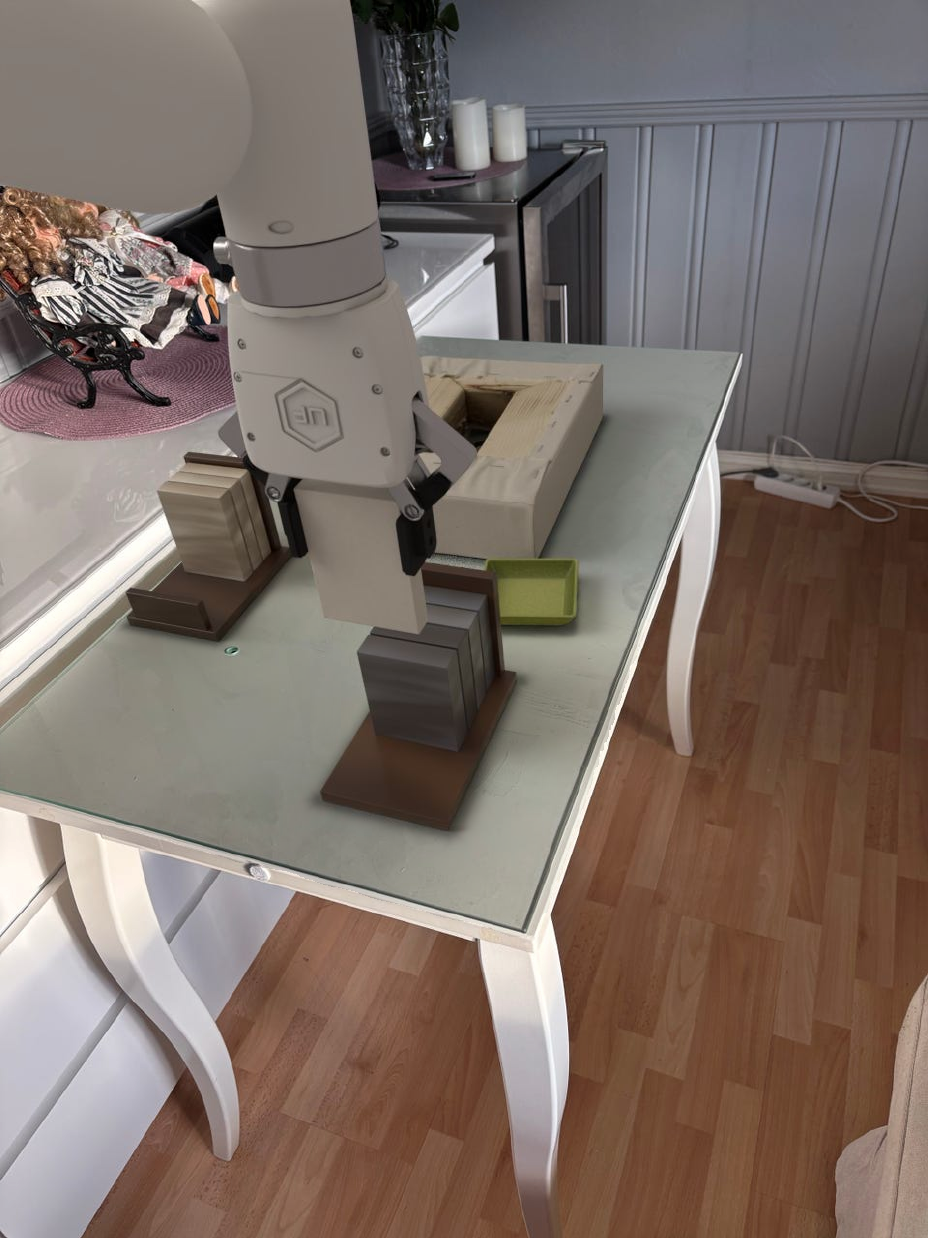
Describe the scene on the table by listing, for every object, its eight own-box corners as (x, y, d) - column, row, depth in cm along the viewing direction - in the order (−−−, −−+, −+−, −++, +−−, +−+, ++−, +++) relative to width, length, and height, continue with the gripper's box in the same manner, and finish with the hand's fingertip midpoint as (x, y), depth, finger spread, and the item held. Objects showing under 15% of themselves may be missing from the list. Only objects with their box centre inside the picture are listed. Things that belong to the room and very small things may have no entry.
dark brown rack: (218, 641, 83) (184, 541, 76) (129, 624, 86) (88, 527, 79) (292, 555, 93) (267, 459, 86) (209, 542, 96) (180, 450, 89)
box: (425, 406, 117) (320, 543, 94) (418, 348, 112) (306, 477, 89) (604, 419, 111) (539, 570, 87) (605, 358, 106) (537, 501, 82)
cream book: (419, 635, 58) (398, 502, 52) (323, 618, 61) (292, 488, 55) (428, 619, 60) (409, 487, 53) (334, 603, 62) (305, 475, 56)
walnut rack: (447, 831, 64) (429, 721, 57) (322, 800, 67) (290, 692, 60) (517, 680, 75) (509, 573, 68) (407, 660, 78) (388, 556, 72)
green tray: (579, 575, 86) (579, 557, 84) (576, 635, 79) (576, 616, 78) (487, 575, 87) (485, 558, 86) (477, 634, 80) (475, 616, 79)
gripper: (123, 281, 46) (212, 568, 57) (441, 297, 40) (471, 612, 51) (206, 236, 51) (272, 506, 62) (497, 245, 46) (513, 540, 57)
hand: (362, 552), depth 57 cm, fingers closed on cream book, 7 cm apart
